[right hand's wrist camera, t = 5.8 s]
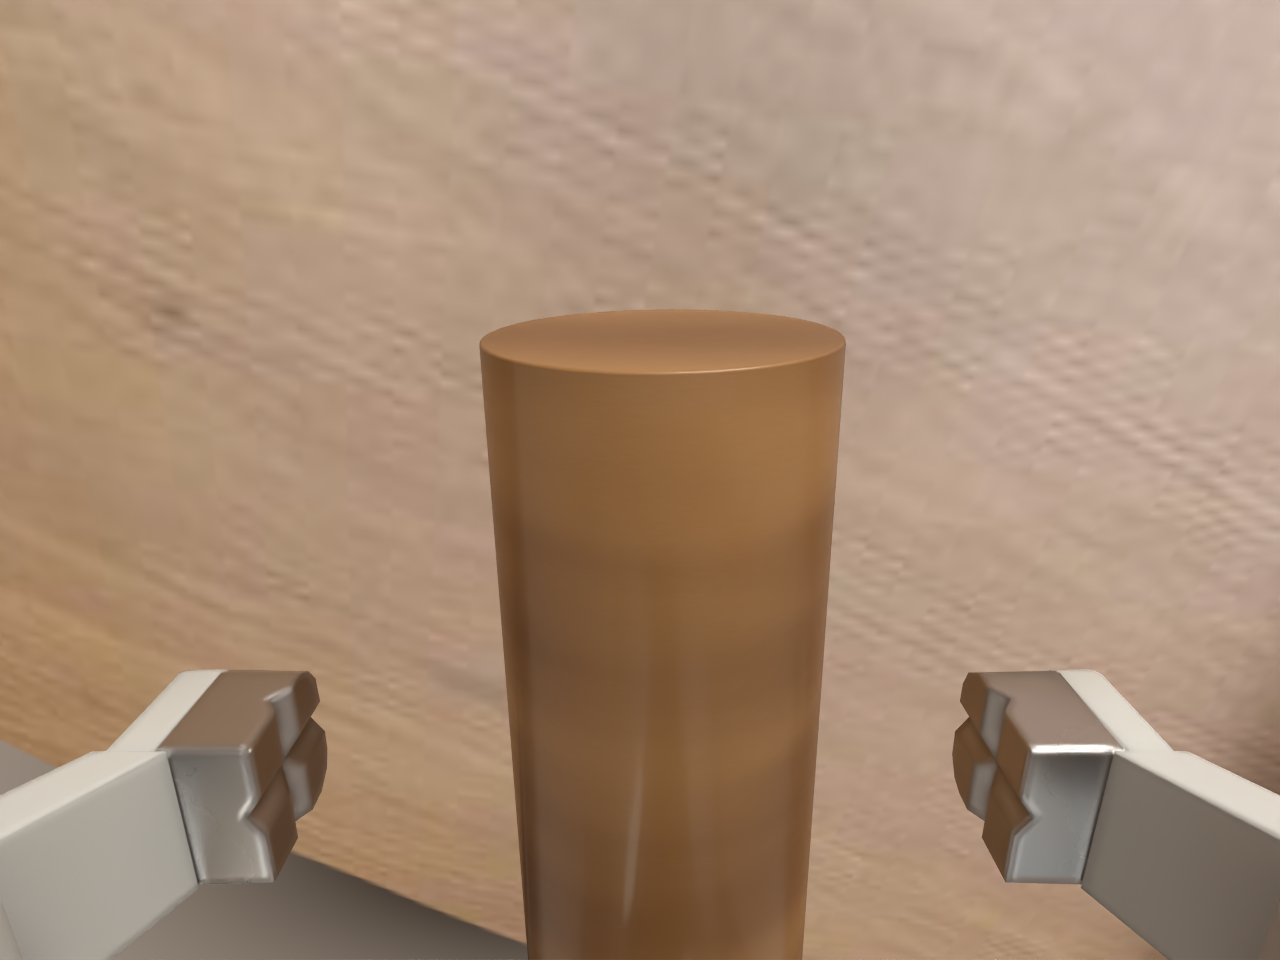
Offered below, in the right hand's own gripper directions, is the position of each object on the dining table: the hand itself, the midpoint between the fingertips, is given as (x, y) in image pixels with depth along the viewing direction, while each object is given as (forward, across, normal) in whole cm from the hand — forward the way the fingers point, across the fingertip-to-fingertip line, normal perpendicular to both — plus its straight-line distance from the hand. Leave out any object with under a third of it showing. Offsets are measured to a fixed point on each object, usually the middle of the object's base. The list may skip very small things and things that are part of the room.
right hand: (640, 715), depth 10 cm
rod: (+8, +1, -7) cm, 11 cm away
